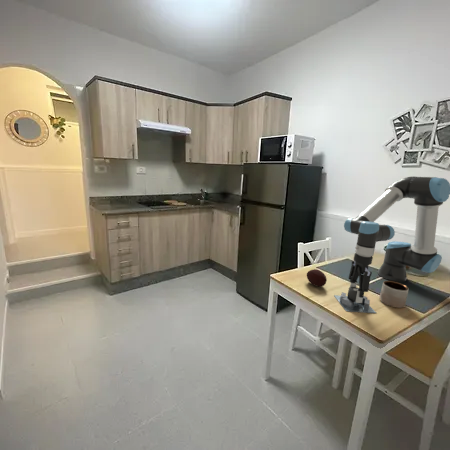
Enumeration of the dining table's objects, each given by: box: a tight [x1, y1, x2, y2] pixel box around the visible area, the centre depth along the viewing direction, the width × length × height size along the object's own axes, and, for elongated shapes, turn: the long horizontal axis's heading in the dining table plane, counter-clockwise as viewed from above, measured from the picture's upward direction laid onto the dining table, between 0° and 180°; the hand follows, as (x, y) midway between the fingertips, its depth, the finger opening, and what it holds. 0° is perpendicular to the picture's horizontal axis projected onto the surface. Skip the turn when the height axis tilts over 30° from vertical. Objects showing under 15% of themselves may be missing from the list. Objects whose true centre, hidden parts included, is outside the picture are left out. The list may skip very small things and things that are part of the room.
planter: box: [379, 280, 410, 309], centre depth 120 cm, size 11×11×10 cm
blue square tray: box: [333, 292, 377, 314], centre depth 117 cm, size 14×14×3 cm
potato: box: [306, 268, 328, 288], centre depth 134 cm, size 9×12×9 cm
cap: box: [346, 286, 359, 302], centre depth 116 cm, size 6×6×5 cm
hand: (354, 298), depth 117 cm, fingers closed on cap, 6 cm apart
